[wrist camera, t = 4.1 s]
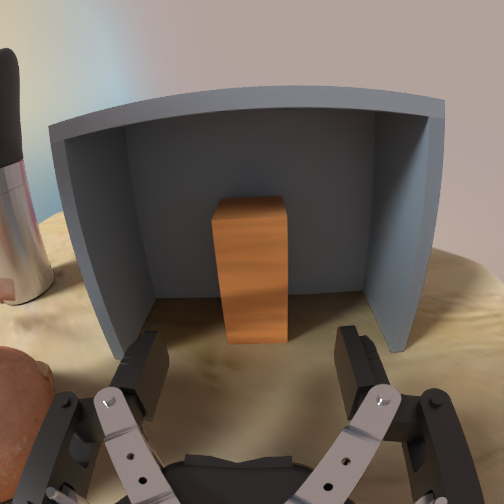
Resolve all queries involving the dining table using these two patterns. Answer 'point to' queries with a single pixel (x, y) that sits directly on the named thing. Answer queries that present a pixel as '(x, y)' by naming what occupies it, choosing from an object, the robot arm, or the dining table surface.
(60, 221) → the dining table surface
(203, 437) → the dining table surface
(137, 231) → the grey cubby
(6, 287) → the ceramic jug
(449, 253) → the dining table surface
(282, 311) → the orange block
